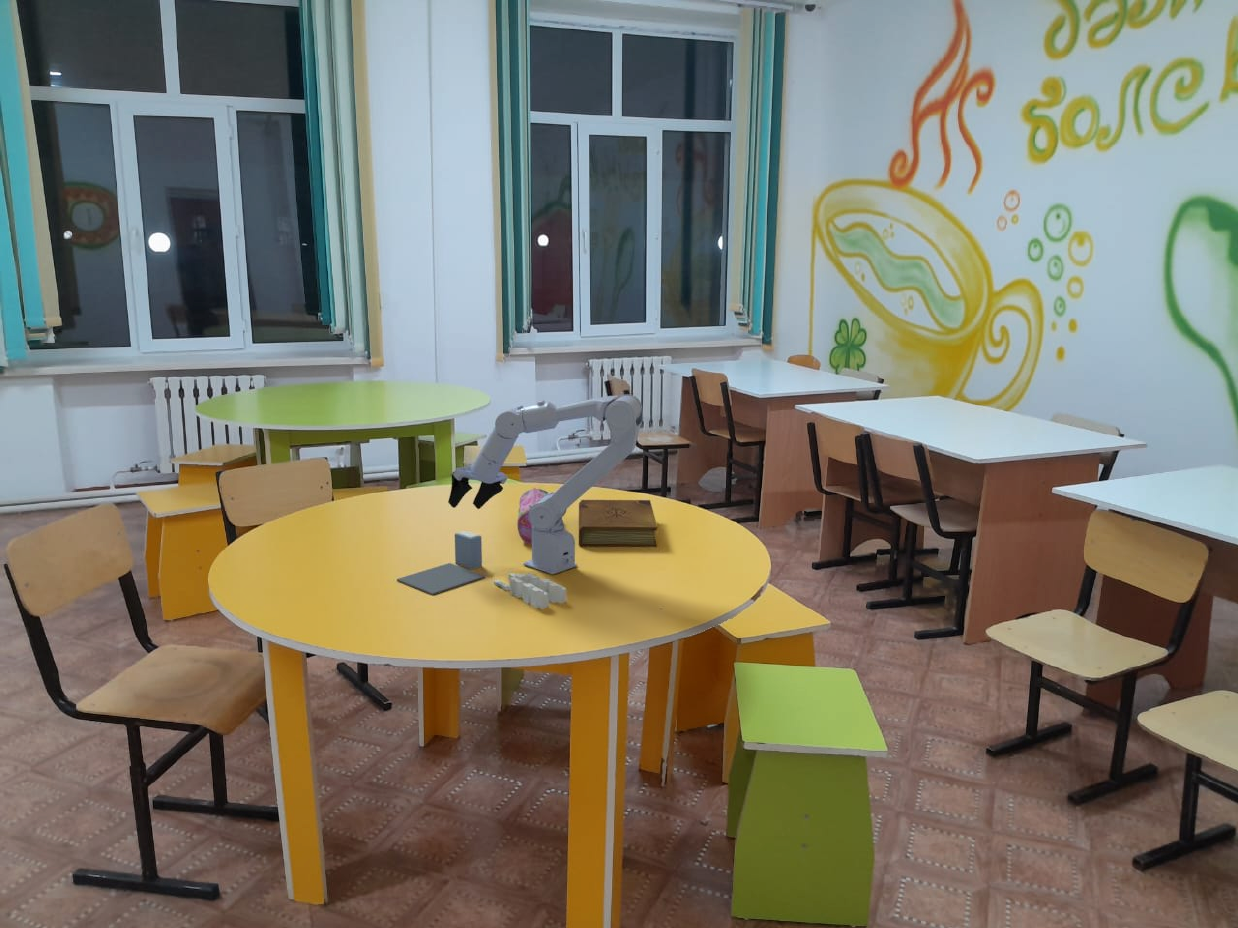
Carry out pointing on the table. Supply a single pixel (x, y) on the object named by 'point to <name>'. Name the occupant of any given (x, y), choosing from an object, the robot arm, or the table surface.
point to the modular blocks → (534, 590)
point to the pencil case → (523, 518)
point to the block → (468, 550)
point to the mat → (440, 578)
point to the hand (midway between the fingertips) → (463, 505)
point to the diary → (616, 523)
